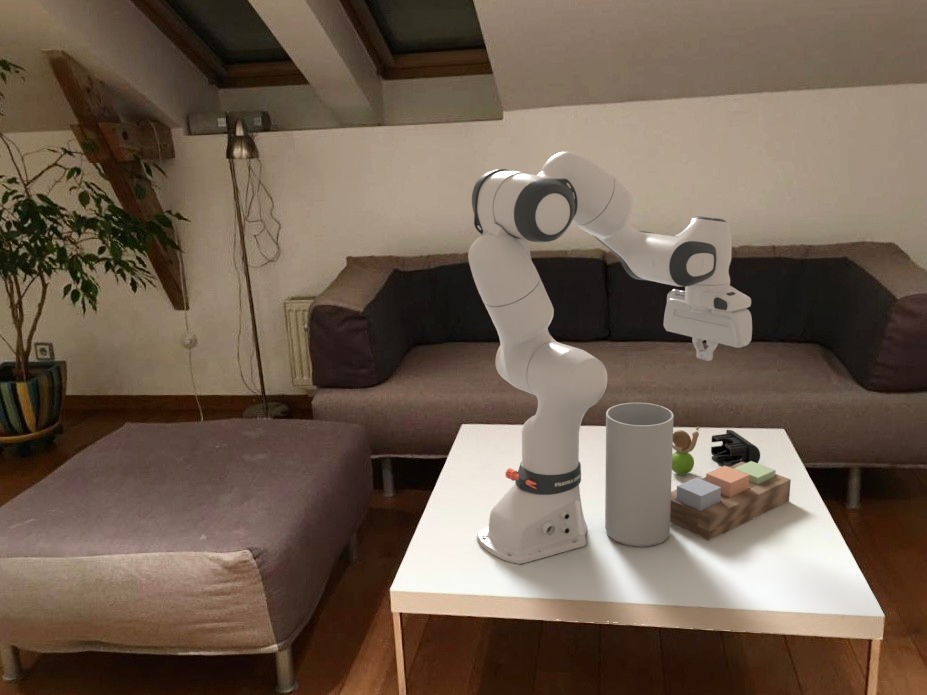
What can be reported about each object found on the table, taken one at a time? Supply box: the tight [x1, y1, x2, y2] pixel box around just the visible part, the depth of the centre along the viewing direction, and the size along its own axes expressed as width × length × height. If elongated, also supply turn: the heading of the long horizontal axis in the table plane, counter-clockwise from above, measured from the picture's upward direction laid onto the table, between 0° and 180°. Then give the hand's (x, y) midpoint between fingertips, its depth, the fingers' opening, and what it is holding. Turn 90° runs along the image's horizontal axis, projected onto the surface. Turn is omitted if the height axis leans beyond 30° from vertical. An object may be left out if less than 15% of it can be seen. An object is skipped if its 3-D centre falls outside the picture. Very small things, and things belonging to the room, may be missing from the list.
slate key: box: [676, 477, 721, 511], centre depth 165 cm, size 6×6×4 cm
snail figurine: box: [672, 426, 700, 476], centre depth 187 cm, size 5×6×12 cm
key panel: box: [670, 462, 792, 542], centre depth 171 cm, size 26×12×5 cm, turn 125°
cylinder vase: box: [604, 402, 675, 548], centre depth 161 cm, size 12×12×25 cm
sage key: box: [734, 461, 777, 485], centre depth 176 cm, size 6×6×4 cm
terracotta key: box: [705, 466, 749, 498], centre depth 170 cm, size 6×6×4 cm
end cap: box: [710, 429, 761, 467], centre depth 192 cm, size 10×7×7 cm
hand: (704, 359), depth 175 cm, fingers closed
